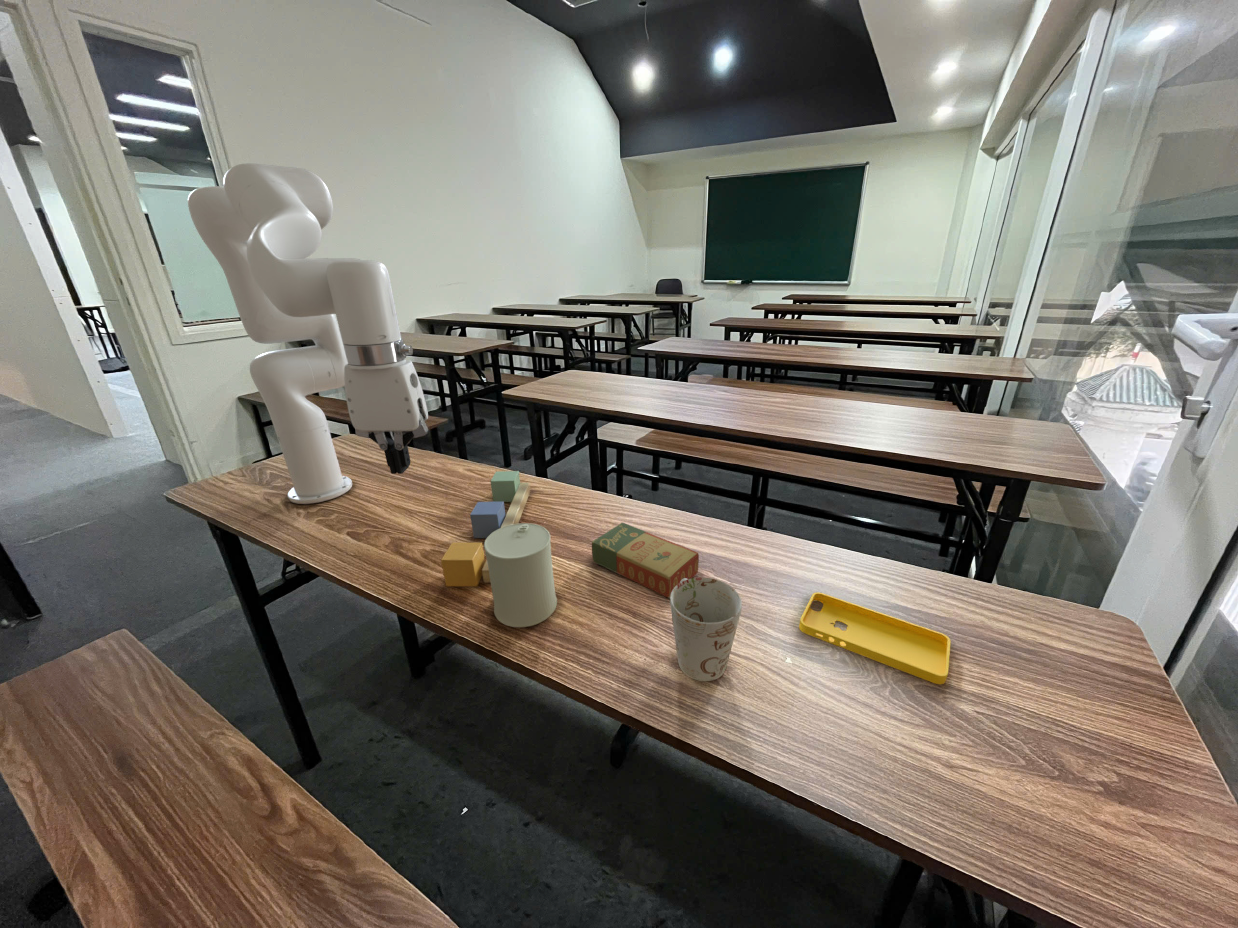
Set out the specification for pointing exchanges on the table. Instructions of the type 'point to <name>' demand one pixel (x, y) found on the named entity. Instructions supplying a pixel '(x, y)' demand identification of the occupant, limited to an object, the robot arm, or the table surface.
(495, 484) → the block far
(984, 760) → the table surface
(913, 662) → the phone case
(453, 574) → the block near
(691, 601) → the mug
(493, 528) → the block mid
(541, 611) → the can
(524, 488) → the wooden bar
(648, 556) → the carton
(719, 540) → the table surface
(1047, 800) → the table surface
